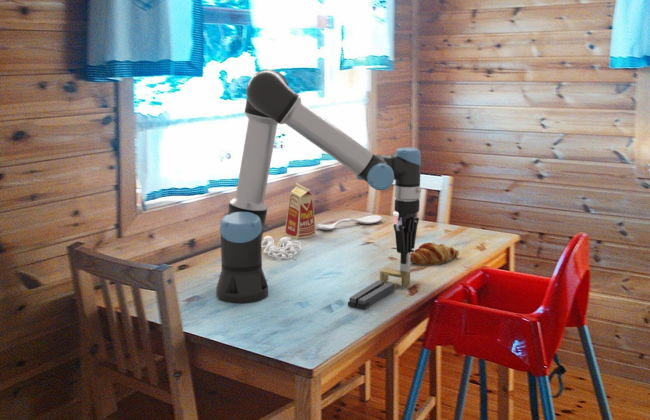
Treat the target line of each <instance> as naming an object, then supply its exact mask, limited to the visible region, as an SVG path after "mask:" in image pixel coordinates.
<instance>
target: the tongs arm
mask: <svg viewBox="0 0 650 420" xmlns="http://www.w3.org/2000/svg"><path fill="white" fill-rule="evenodd" d="M384 283H385V282H384V281H380V279H378V280H377V281H374V282H373V283H371V284H370V285H368V286H367V287H365V288H363V289H362V290H359V291H358V292H356V293H355V294H353V295H352V296H350V297H349V300H348V302H347V306H349V307H353V308H357V307H356V306H357V303H358V299H360V298H362V297H363V296H365V295H367V294H369V293H370V292H372V291H374V290H376V289H378V288H379V287H381V286H383V285H384Z"/></svg>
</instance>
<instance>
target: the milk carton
mask: <svg viewBox="0 0 650 420" xmlns="http://www.w3.org/2000/svg"><path fill="white" fill-rule="evenodd" d="M310 191H311V190H310V189H309V188H307V187H304V186H302V185H301V184H299V183H297V182H295V187H294V188H293V189H292V190H291V191H290V196H289V201H288V207H287V212H286V213H287V214H286V221H285V225H284V233H283V235H284V237H290V238H291V239H297V240H299V239H307V238H311V237H313V236H315V235H316V227H315V223H316V220H315V209H314V200H313V195H312V193H311V192H310Z"/></svg>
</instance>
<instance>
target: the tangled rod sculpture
mask: <svg viewBox="0 0 650 420" xmlns="http://www.w3.org/2000/svg"><path fill="white" fill-rule="evenodd" d="M292 239H293V238H292V237H288V236H284V237H283V236H282V237H281V238H280V239H279V240H278V243H277V246H276V245H275V240H274V238H273V237H272V236H271V235H266V236H264V238H262V249H263V250H262V251H263V254H267V256H269V257H272V258H273V259H276V258H277V259H279V260H280V259H281V260H282V261H285V260H287V259H288V260H291V259H292V258H294V256H295V255H297V253H298V252H300V251H302V243H301V242H300V241H298V240H292ZM263 244H264V245H263ZM295 248H299V249H295ZM280 256H281V257H280ZM287 256H288V257H287Z"/></svg>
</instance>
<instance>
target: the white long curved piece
mask: <svg viewBox="0 0 650 420" xmlns="http://www.w3.org/2000/svg"><path fill="white" fill-rule="evenodd" d="M382 219H383V217H382V216H381V215H375V214H373V215H368V216H367V215H366V216H363V217H358V218H352V217H350V218H349V217H348V218H343V219H339V220H337V221H335V222H334V223H331V224H319V223H316V222H315V228H316V229H320V230H324V231H331V230H333V229H335V227H336V226H338V225H339V224H341V223H347V222H355V223H360V224H364V225H372V224H375V223H377V222H380V221H382Z"/></svg>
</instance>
